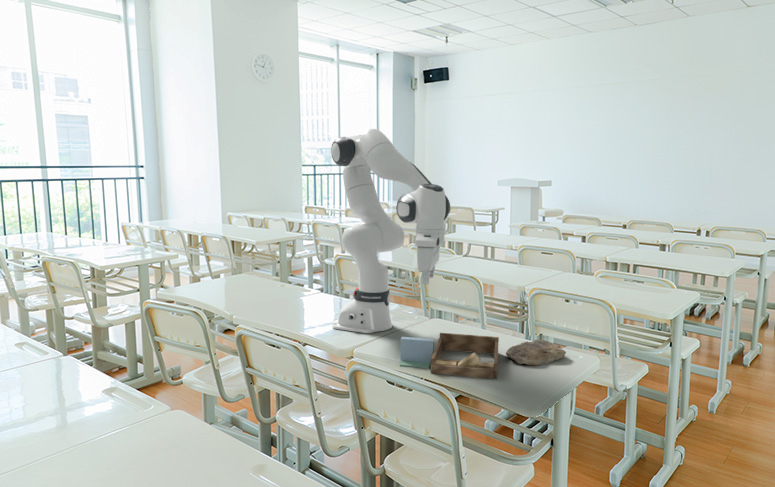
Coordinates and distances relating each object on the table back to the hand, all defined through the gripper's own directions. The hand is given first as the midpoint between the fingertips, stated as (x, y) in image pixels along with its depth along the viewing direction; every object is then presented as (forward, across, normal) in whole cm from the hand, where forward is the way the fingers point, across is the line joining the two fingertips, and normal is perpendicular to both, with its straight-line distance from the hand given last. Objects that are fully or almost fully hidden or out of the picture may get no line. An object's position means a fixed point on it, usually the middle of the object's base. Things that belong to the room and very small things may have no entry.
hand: (428, 280), depth 171 cm
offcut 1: (+25, +11, +8) cm, 28 cm away
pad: (+25, +7, -2) cm, 26 cm away
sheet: (+24, +6, -2) cm, 25 cm away
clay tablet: (+25, -7, +33) cm, 42 cm away
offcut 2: (+24, +9, +19) cm, 32 cm away
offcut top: (+22, +10, +15) cm, 29 cm away
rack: (+24, +3, +13) cm, 28 cm away
